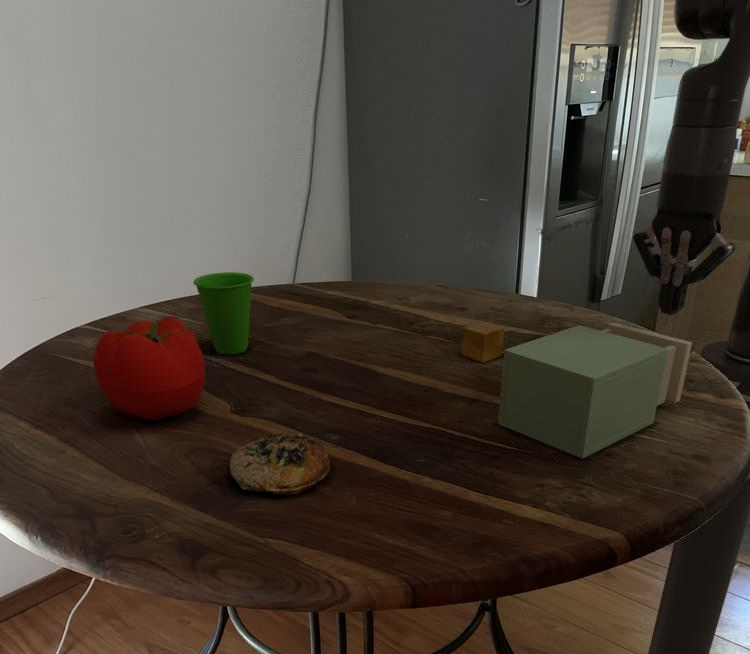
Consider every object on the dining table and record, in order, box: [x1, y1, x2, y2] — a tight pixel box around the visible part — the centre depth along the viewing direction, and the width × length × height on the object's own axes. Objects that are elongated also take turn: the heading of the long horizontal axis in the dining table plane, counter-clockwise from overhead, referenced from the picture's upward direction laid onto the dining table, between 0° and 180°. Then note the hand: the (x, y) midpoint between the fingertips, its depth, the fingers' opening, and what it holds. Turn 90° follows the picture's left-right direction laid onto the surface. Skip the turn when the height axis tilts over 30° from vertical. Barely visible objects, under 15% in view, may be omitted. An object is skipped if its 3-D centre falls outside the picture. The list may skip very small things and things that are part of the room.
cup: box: [193, 271, 255, 355], centre depth 114 cm, size 9×9×11 cm
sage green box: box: [497, 324, 668, 459], centre depth 89 cm, size 15×13×10 cm
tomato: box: [92, 316, 206, 422], centre depth 93 cm, size 13×14×12 cm
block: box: [461, 321, 505, 363], centre depth 112 cm, size 4×4×4 cm
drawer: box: [600, 321, 694, 407], centre depth 95 cm, size 20×11×8 cm, turn 130°
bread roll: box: [229, 433, 331, 496], centre depth 80 cm, size 11×11×5 cm
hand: (669, 312), depth 96 cm, fingers closed
